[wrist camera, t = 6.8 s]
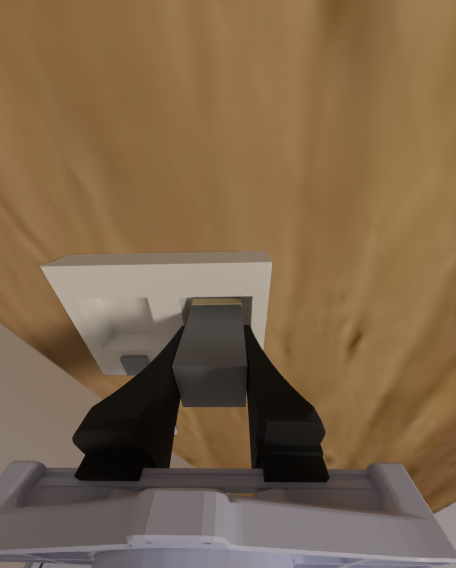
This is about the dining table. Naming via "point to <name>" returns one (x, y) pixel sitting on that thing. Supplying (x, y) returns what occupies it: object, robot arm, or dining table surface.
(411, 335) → the dining table surface
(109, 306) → the sorting tray
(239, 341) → the plug
